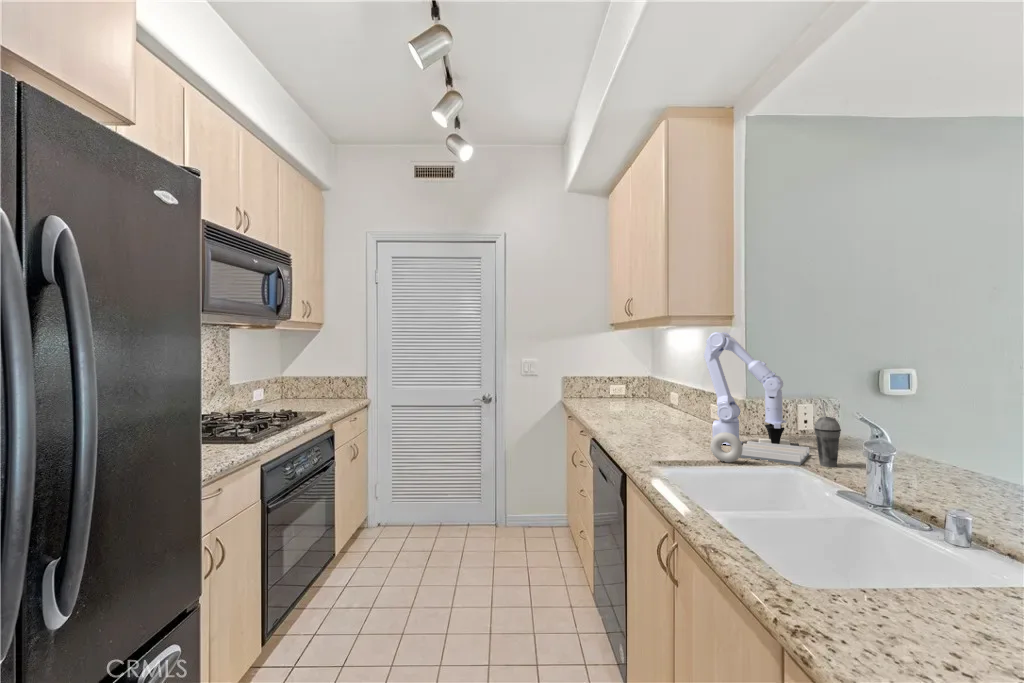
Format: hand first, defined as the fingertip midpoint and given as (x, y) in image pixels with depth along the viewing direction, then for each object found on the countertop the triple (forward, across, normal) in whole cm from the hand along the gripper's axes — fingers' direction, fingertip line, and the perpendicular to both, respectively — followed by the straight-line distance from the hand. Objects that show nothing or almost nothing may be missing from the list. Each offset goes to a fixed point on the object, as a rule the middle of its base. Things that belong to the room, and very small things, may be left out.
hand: (774, 444), depth 182 cm
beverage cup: (+2, -23, -12) cm, 26 cm away
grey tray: (+1, -14, +3) cm, 14 cm away
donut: (+2, -27, +18) cm, 33 cm away
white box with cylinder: (+2, 0, -1) cm, 2 cm away
